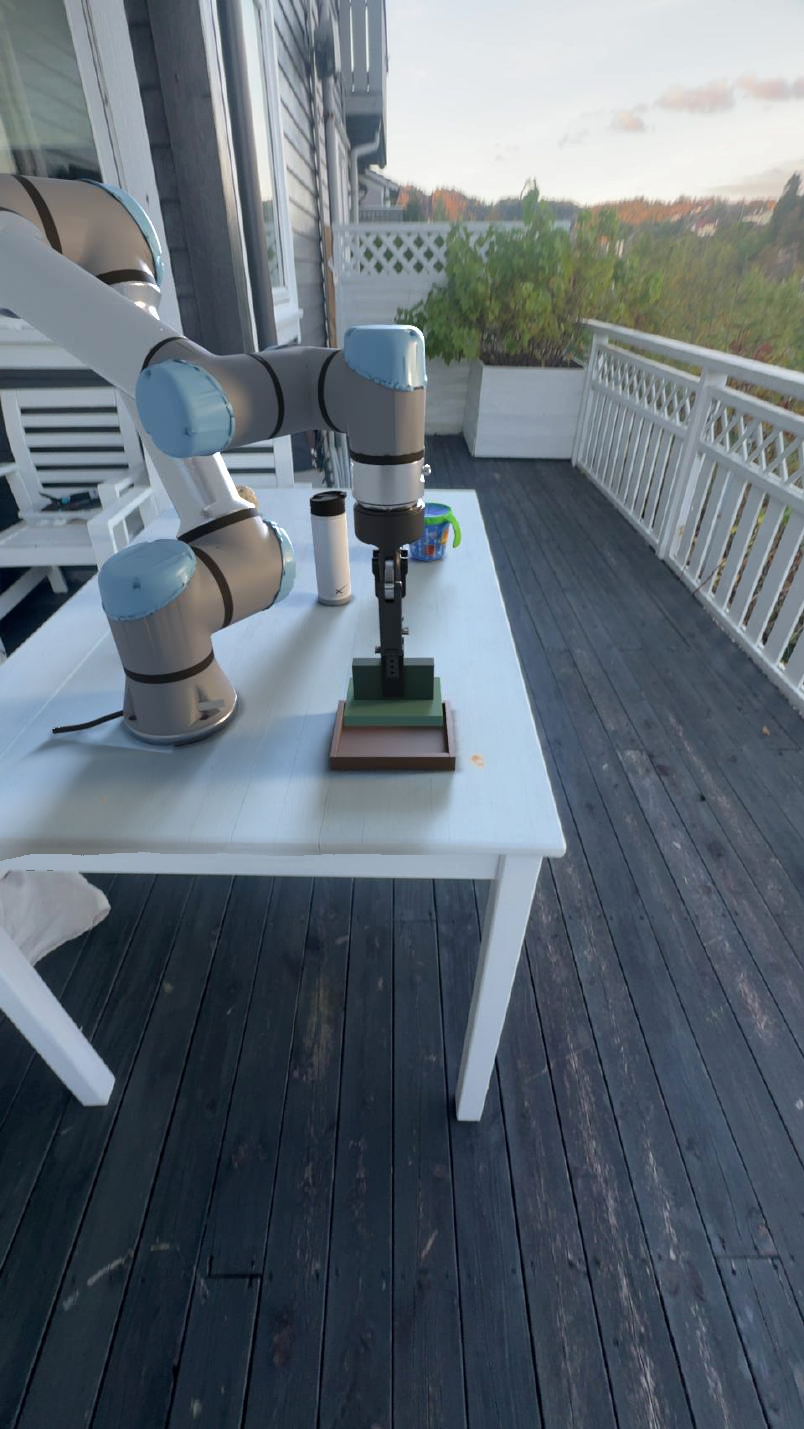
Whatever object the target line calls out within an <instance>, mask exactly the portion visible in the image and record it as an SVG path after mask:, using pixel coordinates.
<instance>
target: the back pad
mask: <svg viewBox="0 0 804 1429" xmlns="http://www.w3.org/2000/svg"><path fill="white" fill-rule="evenodd" d="M351 675H352V676H351V677H349V680H348V686H347V691H346V692H347V693H346V699H345V700H346V705H345V711H344V726H442V723H443V713H442V700H443V699H442V685H441V684H442V683H441V677H440V676H435V658H434V657H404V697H382V674H381V657H353V658H352V662H351Z"/></svg>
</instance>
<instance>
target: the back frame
mask: <svg viewBox="0 0 804 1429" xmlns="http://www.w3.org/2000/svg"><path fill="white" fill-rule="evenodd" d="M451 703H452V702H451V700H450V699H442V713H443V723H442V726H344V711H345V705H346V699H341V700H340V699H339V700H338V703H337V710H336V716H335V721H334V726H333V734H332V740H331V746H330V751H329V766H330V770H331V771H455V770H456V761H457V756H456V744H455V736H454V735H455V733H454V723H453V715H452V714H453V713H452V704H451Z"/></svg>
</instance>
